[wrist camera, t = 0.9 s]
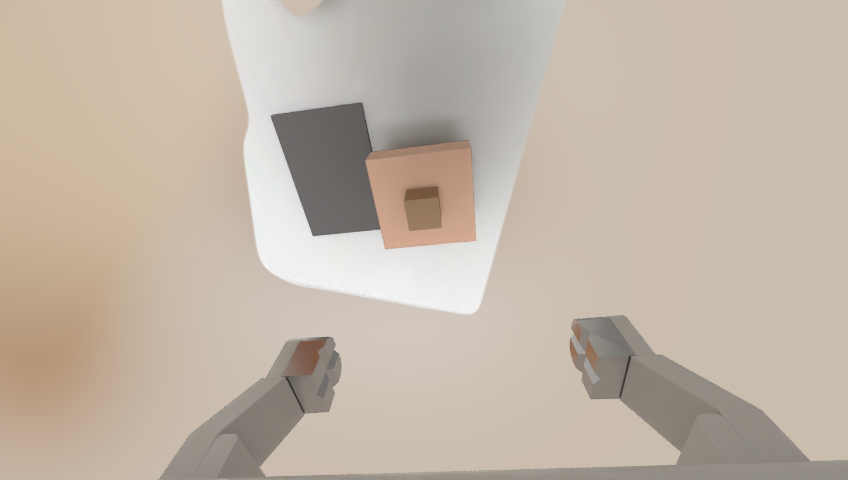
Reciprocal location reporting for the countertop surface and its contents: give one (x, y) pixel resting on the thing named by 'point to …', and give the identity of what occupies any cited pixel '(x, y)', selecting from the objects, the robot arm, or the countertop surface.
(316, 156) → the mat
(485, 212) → the countertop surface
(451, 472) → the robot arm
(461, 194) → the cover
